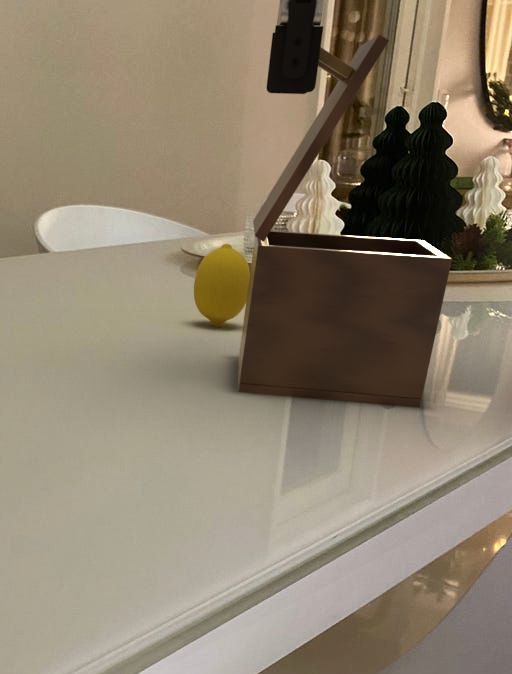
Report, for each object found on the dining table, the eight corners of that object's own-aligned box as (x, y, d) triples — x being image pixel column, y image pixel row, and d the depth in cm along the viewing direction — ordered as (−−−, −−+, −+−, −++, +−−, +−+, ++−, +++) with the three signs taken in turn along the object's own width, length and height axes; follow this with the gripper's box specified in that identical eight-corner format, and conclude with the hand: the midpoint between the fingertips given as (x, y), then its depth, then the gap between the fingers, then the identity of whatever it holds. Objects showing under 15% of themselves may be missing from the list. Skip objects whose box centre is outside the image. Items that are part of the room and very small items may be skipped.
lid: (369, 51, 80) (305, 10, 79) (389, 40, 69) (315, -8, 68) (260, 226, 87) (201, 189, 86) (263, 241, 76) (195, 199, 75)
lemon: (195, 320, 109) (204, 238, 105) (248, 325, 107) (259, 243, 104) (184, 328, 104) (193, 243, 101) (239, 334, 103) (251, 248, 99)
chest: (397, 373, 90) (424, 240, 85) (419, 409, 79) (452, 258, 74) (238, 360, 92) (255, 229, 87) (238, 393, 81) (258, 245, 76)
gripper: (404, -260, 60) (352, 91, 68) (371, -184, 76) (332, 96, 84) (273, -257, 61) (237, 88, 70) (266, -183, 77) (237, 93, 85)
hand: (289, 89), depth 77 cm, fingers closed on lid, 6 cm apart
